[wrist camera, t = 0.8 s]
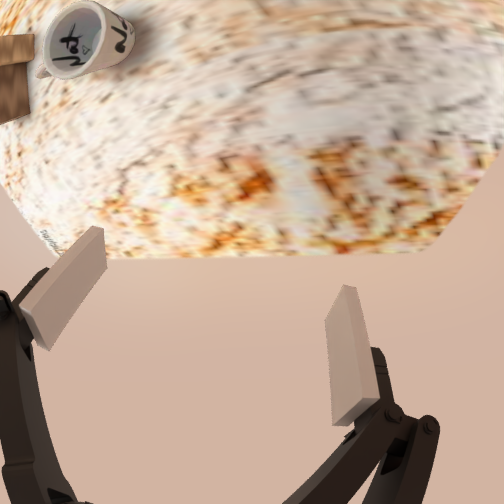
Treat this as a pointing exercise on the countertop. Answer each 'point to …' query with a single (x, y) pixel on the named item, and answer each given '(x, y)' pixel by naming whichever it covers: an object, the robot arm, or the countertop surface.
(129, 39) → the mug
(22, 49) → the wooden arch block
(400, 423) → the robot arm
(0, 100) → the brown wooden block
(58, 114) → the countertop surface
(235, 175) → the countertop surface
